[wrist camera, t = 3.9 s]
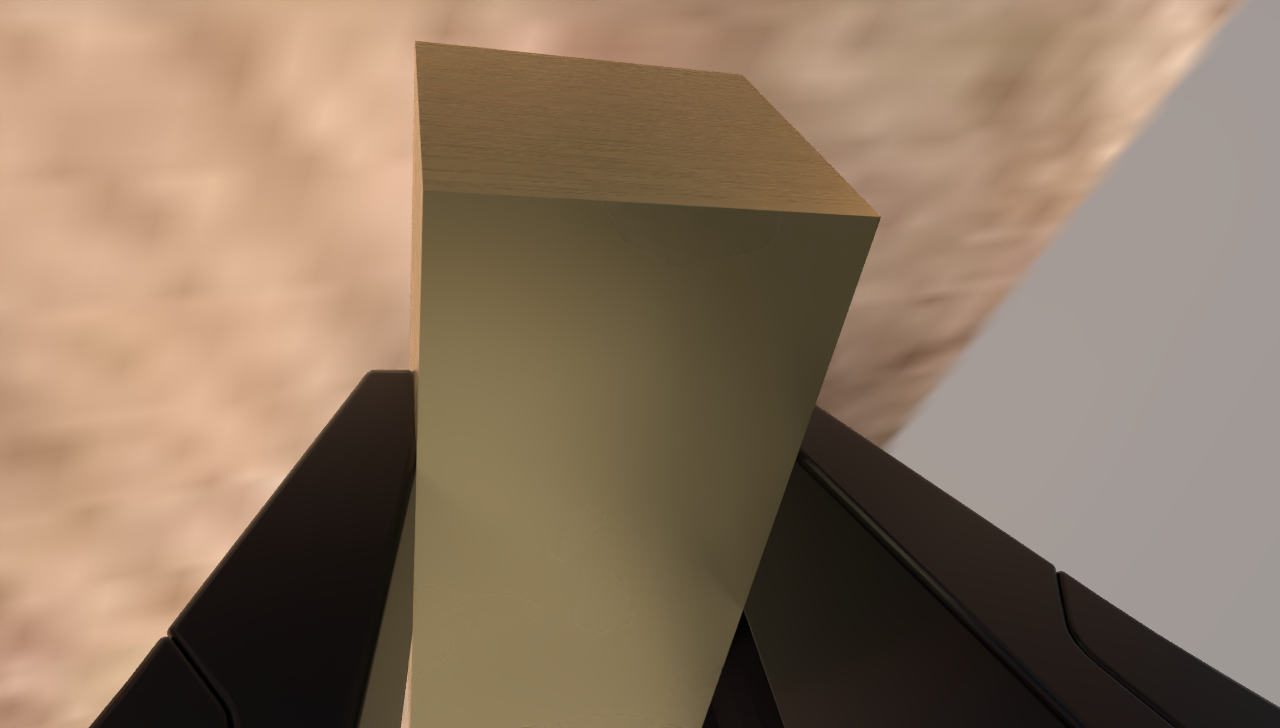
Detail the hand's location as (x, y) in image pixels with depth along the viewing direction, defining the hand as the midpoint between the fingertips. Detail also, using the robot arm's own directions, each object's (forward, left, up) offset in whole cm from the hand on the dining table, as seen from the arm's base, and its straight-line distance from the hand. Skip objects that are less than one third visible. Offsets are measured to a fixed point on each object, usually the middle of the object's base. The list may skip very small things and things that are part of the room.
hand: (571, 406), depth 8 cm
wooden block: (0, 0, -1) cm, 1 cm away
